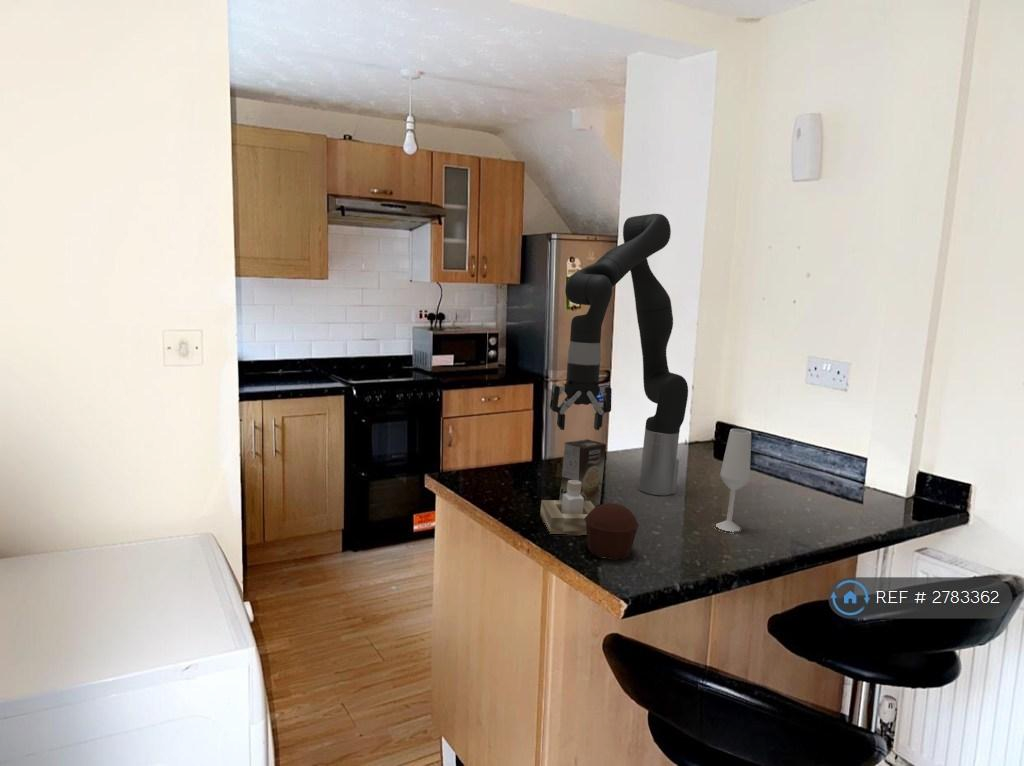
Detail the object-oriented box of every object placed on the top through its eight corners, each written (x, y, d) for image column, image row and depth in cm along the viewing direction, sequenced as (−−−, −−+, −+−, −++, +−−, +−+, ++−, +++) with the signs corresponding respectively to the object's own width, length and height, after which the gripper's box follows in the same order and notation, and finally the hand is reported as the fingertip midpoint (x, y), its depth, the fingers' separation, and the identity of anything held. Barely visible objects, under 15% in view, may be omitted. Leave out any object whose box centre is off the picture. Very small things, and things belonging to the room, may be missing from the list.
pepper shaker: (566, 525, 159) (570, 484, 157) (559, 518, 162) (563, 479, 161) (582, 524, 160) (586, 484, 159) (575, 517, 164) (578, 478, 162)
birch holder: (588, 516, 168) (590, 501, 167) (602, 535, 156) (604, 518, 156) (540, 516, 166) (541, 499, 166) (550, 535, 154) (551, 517, 154)
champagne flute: (728, 522, 172) (740, 427, 168) (748, 531, 166) (762, 433, 162) (707, 524, 169) (719, 428, 165) (727, 534, 163) (740, 435, 159)
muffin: (605, 537, 156) (610, 494, 154) (646, 554, 148) (651, 509, 146) (570, 548, 148) (574, 503, 146) (611, 567, 140) (616, 519, 138)
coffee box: (577, 511, 171) (583, 448, 169) (558, 504, 176) (563, 442, 173) (600, 504, 178) (606, 443, 175) (581, 498, 182) (587, 438, 180)
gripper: (608, 359, 166) (603, 425, 169) (550, 358, 164) (546, 425, 166) (618, 364, 159) (613, 433, 162) (557, 362, 156) (553, 433, 159)
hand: (579, 429), depth 164 cm, fingers open, 8 cm apart
